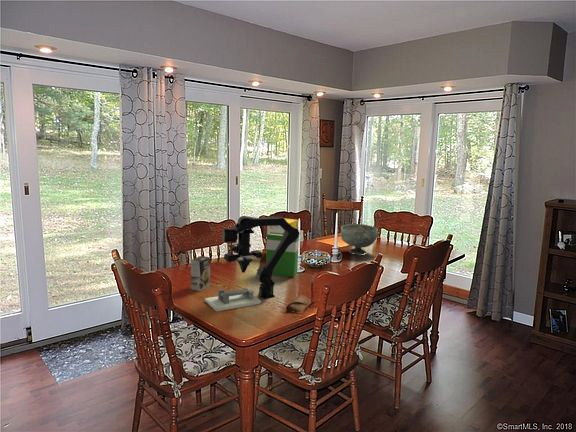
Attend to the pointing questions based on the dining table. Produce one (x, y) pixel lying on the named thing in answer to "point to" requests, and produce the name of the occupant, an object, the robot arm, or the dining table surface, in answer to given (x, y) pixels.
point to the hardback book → (288, 259)
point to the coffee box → (200, 273)
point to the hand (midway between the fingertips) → (243, 272)
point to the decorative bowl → (358, 236)
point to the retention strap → (236, 292)
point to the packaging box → (279, 229)
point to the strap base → (232, 301)
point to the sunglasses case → (299, 304)
